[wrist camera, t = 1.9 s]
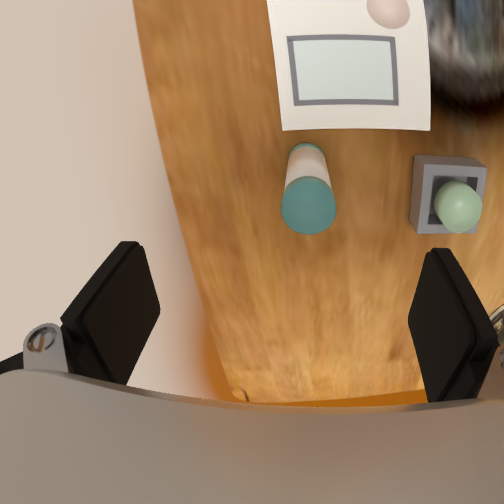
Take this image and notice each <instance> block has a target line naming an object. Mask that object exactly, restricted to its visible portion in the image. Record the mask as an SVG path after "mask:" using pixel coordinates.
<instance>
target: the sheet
mask: <svg viewBox="0 0 504 504" xmlns="http://www.w3.org/2000/svg"><path fill="white" fill-rule="evenodd" d="M267 6H268V13H269V20H270V28H271V35H272V43H273V51H274V59H275V67H276V76H277V85H278V93H279V103H280V112H281V122H282V131H286V130H305V129H341V128H371V129H406V130H425V131H430V108H431V102H430V65H429V49H428V37H427V27H426V18H425V10H424V3H423V0H267Z"/></svg>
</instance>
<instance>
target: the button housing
mask: <svg viewBox="0 0 504 504" xmlns="http://www.w3.org/2000/svg"><path fill="white" fill-rule="evenodd" d="M487 169H488V168H487V167H486V166H484V165H483V164H482V163H480V162H479V161H477V160H476V159H475V158H468V157H454V156H437V155H415V154H414V165H413V180H412V193H411V203H410V213H409V221H410V222H411V224H412V226H413V228H414V230H415V231H416V233H417V234H443V233H454V232H451V231H449V230H448V229H447V228H446V227H445V226H444V224H443V223H442V221H441V220H440V219H439V217H438V216H437V214H436V212H435V209H434V200H435V196H436V194H437V192H438V190H439V189H440V188H441V187H442V186H443V185H444V184H445V183H447V182H449V181H452V180H461V181H463V182H465V183H467V184H468V185H469V186H470V187H471V188H472V189H473V190H474V191H475V192H476V193H477V194H478V195H479V196H480V198H481V201H483V196H484V189H485V183H486V176H487ZM478 222H479V220H478ZM478 222H477V223H476V224H475V225H474V227H472V228H471V229H470V230H468V231H466V232H463V233H476V231H477V227H478Z"/></svg>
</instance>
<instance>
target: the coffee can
mask: <svg viewBox="0 0 504 504" xmlns="http://www.w3.org/2000/svg"><path fill="white" fill-rule="evenodd" d="M489 318H490V320H491V322H492V324H493V326H494V328H495V330H496V332H497V334H498V336H499V337H498V341H499V343H500V346H501V345H502V344H504V305H503V306H501V307H500V308H498V309H497V310H496V311H495V312H494V313H493V314H492V315H491V316H490V317H489Z"/></svg>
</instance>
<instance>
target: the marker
mask: <svg viewBox="0 0 504 504" xmlns="http://www.w3.org/2000/svg"><path fill="white" fill-rule="evenodd" d="M281 214H282V217H283V220H284V221H285V223H286V224H287V225H288V226H289V227H290V228H291V229H292V230H294V231H296V232H298V233H301V234H316V233H320V232H322V231H324V230H325V229H327V228H328V227H329V226H330V225H331V224H332V222H333V221H334V219H335V216H336V203H335V198H334V194H333V191H332V188H331V183H330V178H329V174H328V169H327V165H326V161H325V156H324V153H323V151H322V150H321V149H320V148H319V147H318V146H317V145H315V144H313V143H308V142H305V143H300V144H298V145H296V146H295V147H294V148H293V149H292V150H291V152H290V154H289V159H288V167H287V174H286V181H285V188H284V193H283V197H282V204H281Z"/></svg>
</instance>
